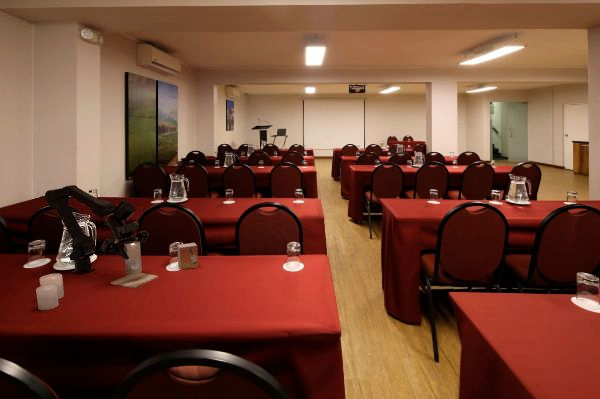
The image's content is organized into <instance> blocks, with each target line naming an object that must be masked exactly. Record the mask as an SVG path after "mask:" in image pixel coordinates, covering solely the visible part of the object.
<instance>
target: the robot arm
mask: <svg viewBox="0 0 600 399" xmlns="http://www.w3.org/2000/svg"><path fill="white" fill-rule="evenodd" d="M43 196H44V200H45V202H46V203H47V204H48V206H49V207H51V208H52V209H54V210H55V211H56V212H57V214H58V216H59V217H60V220H61V221H62V223H63V225H64V227H65V228H66V230H67V232H68V234H69V235H70V237H71V239H72V241H71V248H72V251H71V253H70V254H69V255H68V258H69V261H72V262H74V270H72V271H71V273H73V274H81V275H84V274H86V273H89V272H91V271H94V270H95V268H93V267H92V260H91V257H93V256H94V254H95V251H96V249H97V246H96V241H95V240H94V238H93V236H92V235H86V234H85V233H84V231H83V229H82V228H81V225H80V223H79V222H78V220H77V218H76V216H75V214H74V212H73V211H72V208H70V198H69V197H71V198H72V199H74V200H75V201H77V202H79V203H81V204H82V205H84V206H86V207H88V208H89V209H90V210H91V212H92V214H94V215H95V216H96V217H98V218H100V219H103V218H105V219H104V222H103V225H104V226H109V228H110V230H111V232H112V233H111V235H112V237H109V238H105V239H104V241H103V242H102V244H101V245H100V250H101V251H102V252H103V253H106V252H111V253H114V254H116V255H117V256H120V257H121V258H123V259H124V260H125V259H126V260H128V256H127V254H126V253H125V251H124V246H123V245H124V243H125V242H128V241H139V242H140V252H141V257H142V256H143V254H144V253H143V247H142V245H143V243H145V242H146V241H147V240H148V237H149V236H150V234H149V232H148V230H142V231H138V232H137V233H136V235H134V232H136V231H137V230H138V229H139V228H140V224H139V222H138V220H134V221H132V222H131V223H125V221H127V220H129V219H130V217H131V216H132V215H134V214H135V212H136V211H137V209H136V207H135V205H134V204H132V203H130V202H128V201H126V199H125V200H121V201H120V202H119V204H118V205H117V204H116V205H115V204H114V203H112V202H111V201H107V200H104V199H100V198H97V197H95V196H93V195H91V194H90V193H88V192H86V191H85V190H83V189H81V188H79V187H78V186H77V185H75V184H70V185H66V186H64V187H60V188H56V189H49V190H47V191H46V192H45V193H44V195H43ZM106 217H108V218H106ZM132 235H133V236H132ZM122 244H123V245H122Z"/></svg>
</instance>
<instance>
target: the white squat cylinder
mask: <svg viewBox="0 0 600 399" xmlns="http://www.w3.org/2000/svg"><path fill="white" fill-rule="evenodd" d="M35 291H36V299H37V307H38V310H40V311H48V310H52V309H55V308H57V307H58V306H59V305H60V304H59V299H58V295H57V286H56V285H53V284H50V285H44V286H39V287H37V288H36V289H35Z"/></svg>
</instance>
